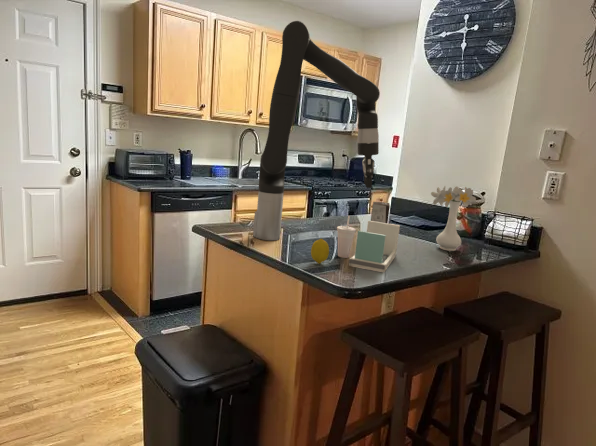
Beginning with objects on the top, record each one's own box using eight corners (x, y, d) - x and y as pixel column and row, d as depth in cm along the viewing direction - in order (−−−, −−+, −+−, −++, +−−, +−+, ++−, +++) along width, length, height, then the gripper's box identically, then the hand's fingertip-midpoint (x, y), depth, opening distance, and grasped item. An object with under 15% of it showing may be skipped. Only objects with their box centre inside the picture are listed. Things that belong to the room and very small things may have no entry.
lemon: (322, 267, 128) (324, 241, 127) (306, 263, 131) (308, 238, 129) (330, 264, 133) (333, 239, 131) (315, 260, 136) (317, 235, 134)
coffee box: (384, 248, 160) (390, 205, 157) (367, 245, 161) (372, 203, 158) (384, 242, 169) (390, 202, 166) (368, 240, 170) (373, 200, 167)
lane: (348, 266, 132) (352, 231, 130) (364, 250, 154) (368, 220, 152) (383, 272, 129) (388, 237, 126) (395, 256, 150) (399, 225, 148)
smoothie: (340, 259, 139) (345, 217, 136) (330, 254, 145) (334, 213, 142) (356, 258, 142) (361, 217, 139) (345, 253, 148) (350, 213, 145)
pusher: (354, 262, 133) (357, 231, 131) (354, 261, 134) (358, 230, 132) (380, 267, 130) (385, 235, 128) (381, 266, 131) (385, 235, 129)
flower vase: (435, 241, 180) (444, 182, 175) (475, 253, 165) (487, 189, 161) (415, 244, 172) (425, 182, 167) (456, 256, 158) (468, 189, 153)
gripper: (356, 141, 162) (357, 184, 165) (358, 142, 148) (358, 189, 151) (376, 141, 161) (376, 184, 164) (380, 141, 147) (380, 188, 151)
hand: (368, 186), depth 158 cm, fingers open, 8 cm apart
